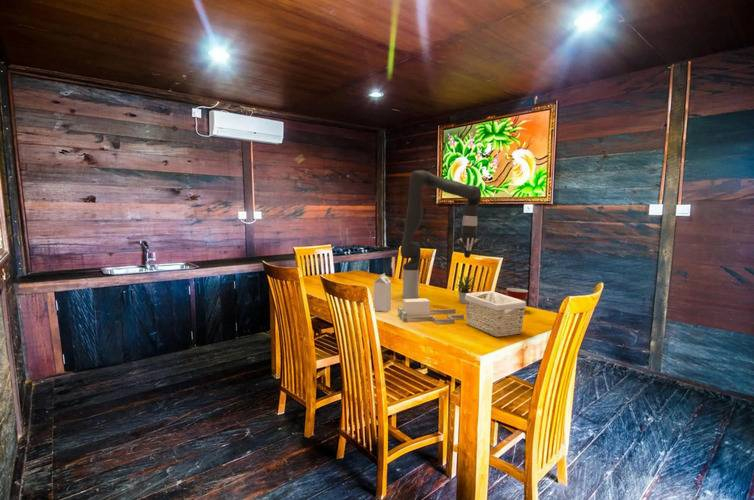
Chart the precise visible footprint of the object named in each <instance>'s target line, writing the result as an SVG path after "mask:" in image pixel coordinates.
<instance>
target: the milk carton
mask: <svg viewBox="0 0 754 500" xmlns="http://www.w3.org/2000/svg"><path fill="white" fill-rule="evenodd" d="M391 298H392V281H391V280H390V279H389V277H388V276H387V275H386V273H385V272H384V273H382V274H380V275H379V277H378V278H377V279H376V280H375V281H374V282H373V309H374V308H375V312H383V313H384V312H385V313H386V312H388V311H390V310H391V308H392V307H391V305H392V299H391Z"/></svg>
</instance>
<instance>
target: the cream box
mask: <svg viewBox="0 0 754 500" xmlns="http://www.w3.org/2000/svg"><path fill="white" fill-rule="evenodd" d="M430 305H431V301H430V300H429V299H428V298H424V297H423V298H417V299H405V298H402V309H403V310H404V311H405V312H406V313H407V317H416V316H431V314H430V310H431V309H430V308H431V307H430Z"/></svg>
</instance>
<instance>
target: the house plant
mask: <svg viewBox="0 0 754 500" xmlns="http://www.w3.org/2000/svg"><path fill="white" fill-rule="evenodd" d="M457 277H458V280H459V281H458V284H457V283H456V284H455V285H456V288H457V289H459V290H458V297H459V303H460V304H466V300H465V296H466V294H467V293H472V291H470V290H474V288H475V286H474V281H476V280H477V278H476V277H477V276H476V275H475V276H472V277H470V278H468V276H467V275H462V277H463V279H464V282H463V279H462V278H461V277H460V276H457ZM475 289H476V288H475Z"/></svg>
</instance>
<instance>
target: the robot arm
mask: <svg viewBox="0 0 754 500" xmlns="http://www.w3.org/2000/svg"><path fill="white" fill-rule="evenodd" d="M408 186H409V187H408V201H407V208H406V215H405V224H404V229H403V230H404V231H403V236H402V240H401V246H400V256H401V258H402V259H409V261H407V262H406V263H404V264H403V268H402V271H403V272H402V299H419V280H420V279H419V273H420V272H419V270H420V269H419V268H420V265H421V264H420V263H421V246H420V243H418V242H414V241H412V237H413V236H414V234H415V233H416V231H417V230H418V228H419V227H420V226H421V223H422V222H423V216H424V215H423V214H424V207H423V204H422V200H421V199H422V198H421V197H422V196H421V195H422V190H423V187H429V188H430V187H433V188H436V189H438V190H440V191H442V192H444V193H447V194H451V195H454V196H458V197H460V198H462V199H466V200H467V202H466V204H465V205H464V207H463V216H462V225H461V236H460V238H459V239H456V242H457V244H458V245H459V247H460V248H461V249H462V250H464V255H463V257H464V258H467V259H469V258H470V257H471V254H472V252H471V251H473V250H475V249H476V247H478V245H479V244H480V242H481V240H479V239H478V238H477V230H478V212H479V205H480V202H481V198H482V197H481V196H482V190H481V188H480V187H478V186H476V185H472V184H471V185H470V184H465V183H463V182H459V181H456V180H451V179H448V178H443V177H441V176H438V175H435V174H433V173H431V172H429V171H426V170H424V169H421V170H414V171H413V172H411V173H410V176H409V182H408Z"/></svg>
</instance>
